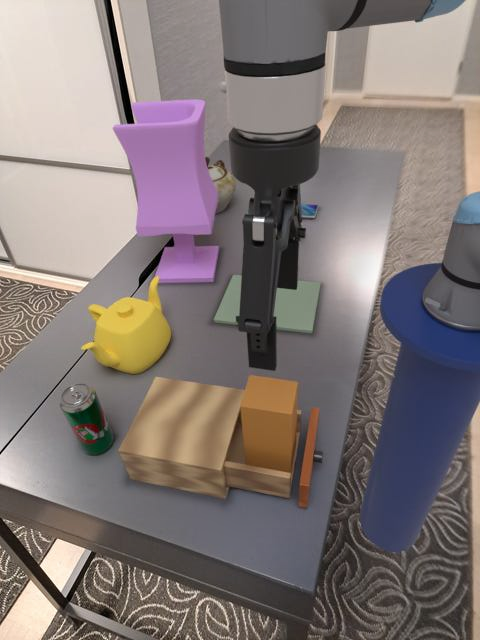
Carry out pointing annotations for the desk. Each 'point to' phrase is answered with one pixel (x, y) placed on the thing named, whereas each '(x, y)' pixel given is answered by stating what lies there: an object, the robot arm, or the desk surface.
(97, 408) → the soda can
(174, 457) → the cabinet
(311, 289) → the mat
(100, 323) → the teapot
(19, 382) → the desk surface
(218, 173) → the sugar bowl
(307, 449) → the drawer
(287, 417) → the orange rectangular block
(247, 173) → the robot arm
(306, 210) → the smartphone
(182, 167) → the vase
